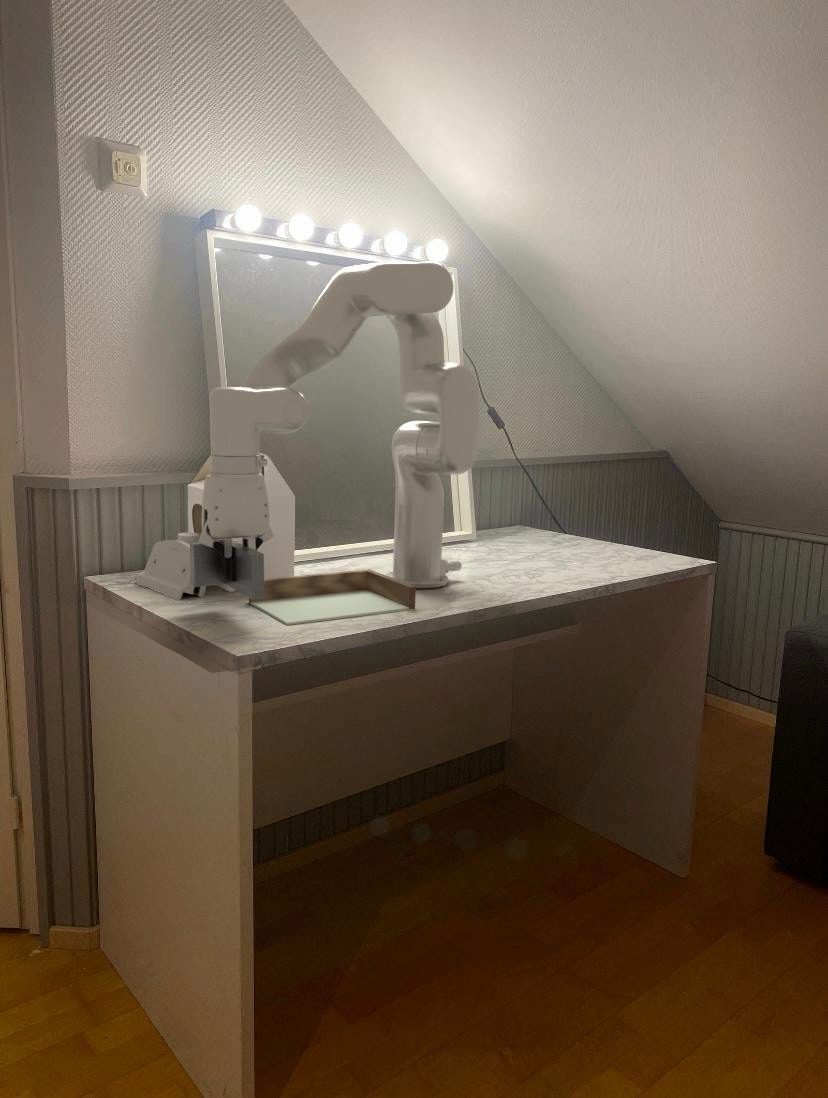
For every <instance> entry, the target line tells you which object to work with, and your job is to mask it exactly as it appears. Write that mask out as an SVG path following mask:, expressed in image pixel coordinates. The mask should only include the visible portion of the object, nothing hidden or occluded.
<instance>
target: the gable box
mask: <svg viewBox="0 0 828 1098" xmlns="http://www.w3.org/2000/svg"><path fill="white" fill-rule="evenodd" d="M259 455H261V457H262V458H266V459H267V466H263V467H261V471H260V474H262V475H263V476H264V480H265V485H266V490H267V497H268V505H269V526H270V528H271V530H272V533H273V538H272V539H270V540H268V541H266V542H265V543H262V545H261V546H260V547H259V548H258V549H257V550H256V551H258V552H261V553H263V554H264V579H268V578H280V577H291V576H295V544H296V543H295V538H296V537H295V534H296V532H295V531H296V530H295V528H296V524H295V523H296V495H295V494H294V492H293V491H292V489H291V488H290V486H289V485H288V484H287V482H286V480H285V479H284V478H283V476H282V474H281V473H280V472H279V471H278V469H277V467H276V466H275V464H274V462H273V461H272V460H271V458H270V456H268V455H267V454H265V453H263V452H259ZM206 475H211V453H210V454H209V455H208V457H206V460H205V461H204V462H203V464H202V465H201V467H200V469H198V471H197V473H196V474H195V476H194V477H193V478H192V480H191V482H190V483H188V484H187V526H188V527H187V532H192V533H198V534H199V538H200V536H201V533H202V501H203V491H204V484H205V478H206ZM255 537H257V536H255ZM211 538H212V539H213V540H218V539H216V538H213V537H212V536H211ZM232 540H234V541H236V542H238V543H240V544H242V537H241V538H232ZM216 586H217V587H219V588H221V589H223V590H225V591H226V592H228V593H232V592H237V591H236V590H235V589H233V588H231V587H229V586H228V585H226V584H217V585H216Z"/></svg>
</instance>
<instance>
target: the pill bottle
mask: <svg viewBox="0 0 828 1098" xmlns="http://www.w3.org/2000/svg"><path fill="white" fill-rule="evenodd" d="M177 540H178V541H183V542H186V543H192V542H199V534H198V533H192V532H188V531H187V532H179V533H178V534H177Z"/></svg>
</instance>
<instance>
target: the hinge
mask: <svg viewBox="0 0 828 1098" xmlns="http://www.w3.org/2000/svg"><path fill="white" fill-rule="evenodd" d="M135 583H137V584H139V585H138V586H140V585H142V586H141V587H143V586H145V587H148V588H150V589H149V590H151V589H153V590H156V591H159V592H161V593H163V594H162V595H164V594H166V595H165V596H167V595H168V596H167V597H169V596H170V598H172V599H174V598H175V599H174V600H177V599H178V601H181V600H182V598H183V594H184V593H186V594H189V595H194V596H195V595H196V596H198V597H205V592H206V588H207V586H200V587H194V586H193V585H191V570H190V543H186V542H183V541H178V539H164V540H161V541H157V542H155V543H154V545H153V546H152V549H151V552H150V555H149V556H148V559H147V563H146V565H145V567H144V570H143V571H141V572H139V573H137V575H136V578H135V581H134V584H135ZM137 584H136V585H137ZM145 587H144V588H145ZM148 588H147V589H148ZM153 590H152V591H153ZM156 591H155V592H156ZM159 592H158V593H159ZM161 593H160V594H161Z"/></svg>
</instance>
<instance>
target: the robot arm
mask: <svg viewBox="0 0 828 1098" xmlns="http://www.w3.org/2000/svg"><path fill="white" fill-rule="evenodd" d="M453 294H454V281H453V277H452V275H451V274H450V272H449V270H448V269H447V268H446V267H445V266H444V265H442V264H440V263H439V262H435V261H422V262H421V261H420V262H419V261H417V262H416V261H415V262H374V263H368V264H367V263H366V264H360V265H353V266H348V267H344V268H342V269H340V270H339V271H338V272H336V273H335V275H333V276H332V278H331V280H330V281H329V283H328V284H327V285H326V286H325V288H324V290H323V291H322V293H321V294H320V295H319V297H318V299H317V300H316V302H315V303H314V304H313V306H312V307H311V309H310V310H309V312H308V313H307V314H306V316H305V317H304V319H303V320H302V322H301V323H300V325H299V326H298V327H297V328H296V329H295V330H294V331H292V332H290V334H288V335H287V336H286V337H285V338H283V339H282V340H281V341H280V342H278V344H276V345H275V346H274V347H273V348H271V349H270V350H269V351H268V352H266V353H265V354H264V355H263V356H262V357H261V358H260V359H259V360H258V361H257V362H256V363H255V365H254V366H253V367H252V368H251V370H250V371H249V372H248V374H247V375H246V376H245V378H244V380H243V381H242V383H241V384H240V385H239V386H234V387H233V386H220V387H215V388H213V389H212V390H211V391H210V394H209V431H210V432H209V434H210V437H209V438H210V439H209V440H210V454H211V475H206V478H205V484H204V491H203V501H202V533H201V536H200V538H199V542H200V543H201V544H203V545H206V546H209V547H212V548H214V549H215V550H216V551H217V552H218V553H219V554H220V555H222V574H223V576H225V579H226V580H228V581H230V582H235V559H234V557H233V554H232V538H241V537H242V544H243V545H245V546H247V547H249V548H252V549H254V550H257V549H258V548H259V547H260V546H261V545H262V543H265V542H266V541H268V540H270V539H272V538H273V533H272V530H271V528H270V526H269V505H268V497H267V490H266V485H265V480H264V476H263V475H262V474H260V471H261V467H263V466H267V459H266V458H262V457H261V455H259V453H260V433H261V432H262V433H269V434H279V435H287V434H288V435H289V434H292V433H295V432H297V431H299V430H300V429H302V427H304V426H305V424H306V423H307V421H308V419H309V416H310V407H309V402H308V401H307V399H306V398H305V396H304V394H303V393H301V392H299V391H298V390H296V389H294V388H292V386H294V385H295V384H296V383H297V382H299V381H300V380H302V379H303V378H305V377H307V376H310V375H311V374H314V373H316V372H318V371H321V370H323V369H326V368H328V367H329V366H331V365H333V364H334V363H336V362H338V361H339V360H340V359H341V357H342V356H343V355H344V353H345V351H346V350H347V348H348V347H349V345H350V344H351V342H352V341H353V339H354V338H355V336H356V335H357V333H358V332H359V330H360V329H361V327H362V326H363V324H364V323H365V321H366V320H367V319H368V318H369V317H382V316H386V317H387V318H388V320H389V322H390V323H391V325H392V326H393V328H394V330H395V332H396V335H397V336H396V337H397V338H398V340H397V341H398V354H399V355H398V356H399V358H398V367H399V368H398V371H399V372H398V377H399V383H398V384H399V385H398V386H399V388H398V391H399V400H400V403H401V405H402V407H403V408H404V409H405V410H407V411H409V412H411V413H415V414H424V415H436V416H438V421H431V420H430V421H429V420H427V421H426V420H412V421H408V422H405V423H403V424H402V425H400V426H399V427H398V428H397V429H396V431H395V433H394V435H393V436H392V439H391V440H392V441H391V455H392V462H393V467H394V476H395V477H394V478H395V494H394V497H395V498H394V499H395V500H394V531H393V535H394V536H393V558H392V559H393V561H392V563H393V565H392V571H391V572H388V573H386V574H385V575H386V576H389V577H391V578H394V579H397V580H399V581H402V582H405V583H407V584H410V585H413V586H415V587H416V589H434V588H441V586H442V587H445V586H447V585H448V584H449V576H447V575H446V574H447V573H449V572H450V571H451V572H455V571H460V570H461V569H462V563H461V562H460V561H459V560H456V561H448V560H446V559H443V558H442V555H443V552H442V551H443V534H444V533H443V531H444V529H443V528H444V527H443V526H444V510H445V507H444V504H445V490H444V486H443V482H442V480H441V477H440V474H444V475H455V476H457V475H461V474H464V473H466V472H467V471H469V470H470V469H471V468H472V467H473V465H474V464H475V461H476V457H477V456H478V455H477V454H478V449H479V448H478V445H479V413H480V412H479V409H480V406H479V405H480V404H479V403H480V398H479V397H480V396H479V395H480V394H479V392H480V391H479V387H478V382H477V379H476V377H475V375H474V373H473V371H472V370H471V369H470V368H469V367H468V366H466V365H464V364H461V363H459V362H445V340H444V332H443V330H442V326H441V323H440V321H439V320H438V317H437V316H436V315H435V313H437V312H440V311H442V310H443V309H445V308H446V307H447V306H448V304H449V303H450V302H451V299H452V297H453ZM211 536H212V537H213V538H216V539H218V540H219V542H218V541H216V540H213V539H212V538H211ZM255 536H257V537H255Z"/></svg>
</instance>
